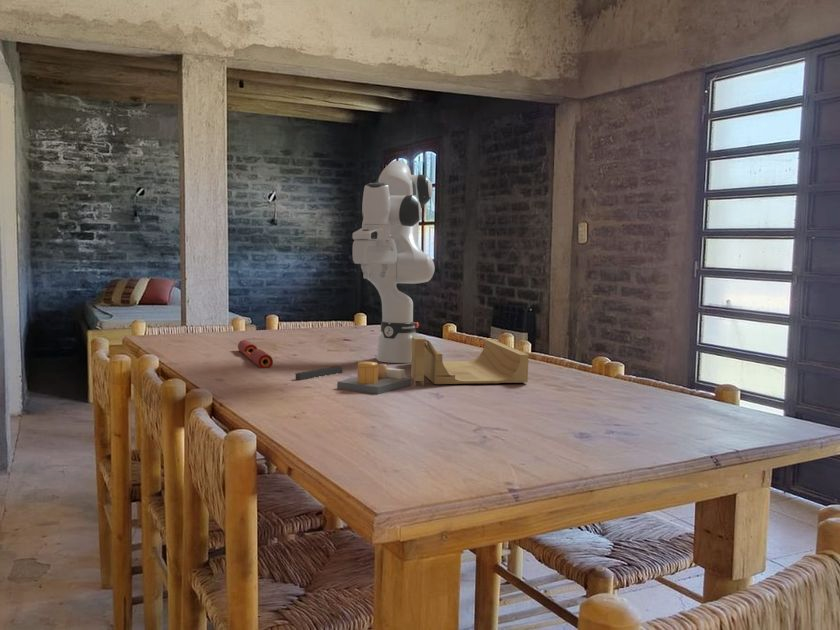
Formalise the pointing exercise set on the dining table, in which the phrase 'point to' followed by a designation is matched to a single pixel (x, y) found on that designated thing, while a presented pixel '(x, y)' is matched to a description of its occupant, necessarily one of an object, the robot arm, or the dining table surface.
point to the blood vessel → (255, 354)
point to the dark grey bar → (318, 373)
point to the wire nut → (367, 372)
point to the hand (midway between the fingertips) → (375, 278)
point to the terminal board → (386, 381)
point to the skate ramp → (469, 364)
